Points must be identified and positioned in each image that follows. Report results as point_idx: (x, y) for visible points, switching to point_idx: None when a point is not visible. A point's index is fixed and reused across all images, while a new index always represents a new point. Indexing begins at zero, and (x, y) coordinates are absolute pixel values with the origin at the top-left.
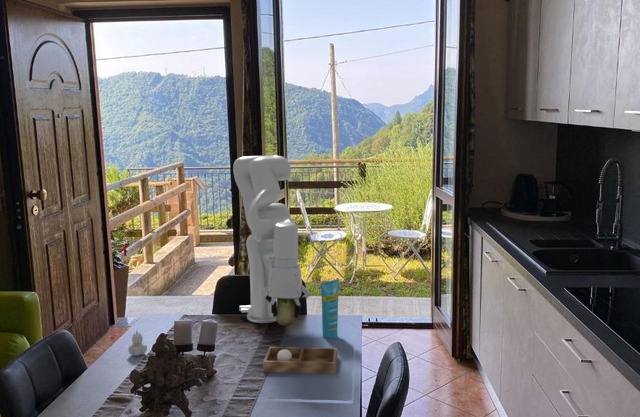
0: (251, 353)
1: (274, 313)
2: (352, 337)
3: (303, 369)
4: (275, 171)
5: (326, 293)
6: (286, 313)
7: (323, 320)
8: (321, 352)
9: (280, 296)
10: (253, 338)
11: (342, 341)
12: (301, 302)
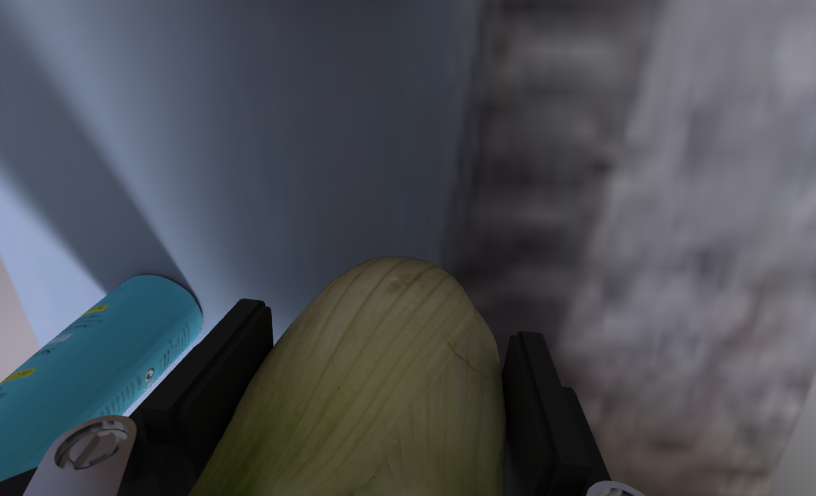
0: (671, 67)
1: (532, 358)
2: (36, 296)
3: None
4: None
5: None
6: (363, 340)
7: (106, 368)
8: None
9: None
10: (621, 318)
11: (71, 246)
12: (26, 483)
